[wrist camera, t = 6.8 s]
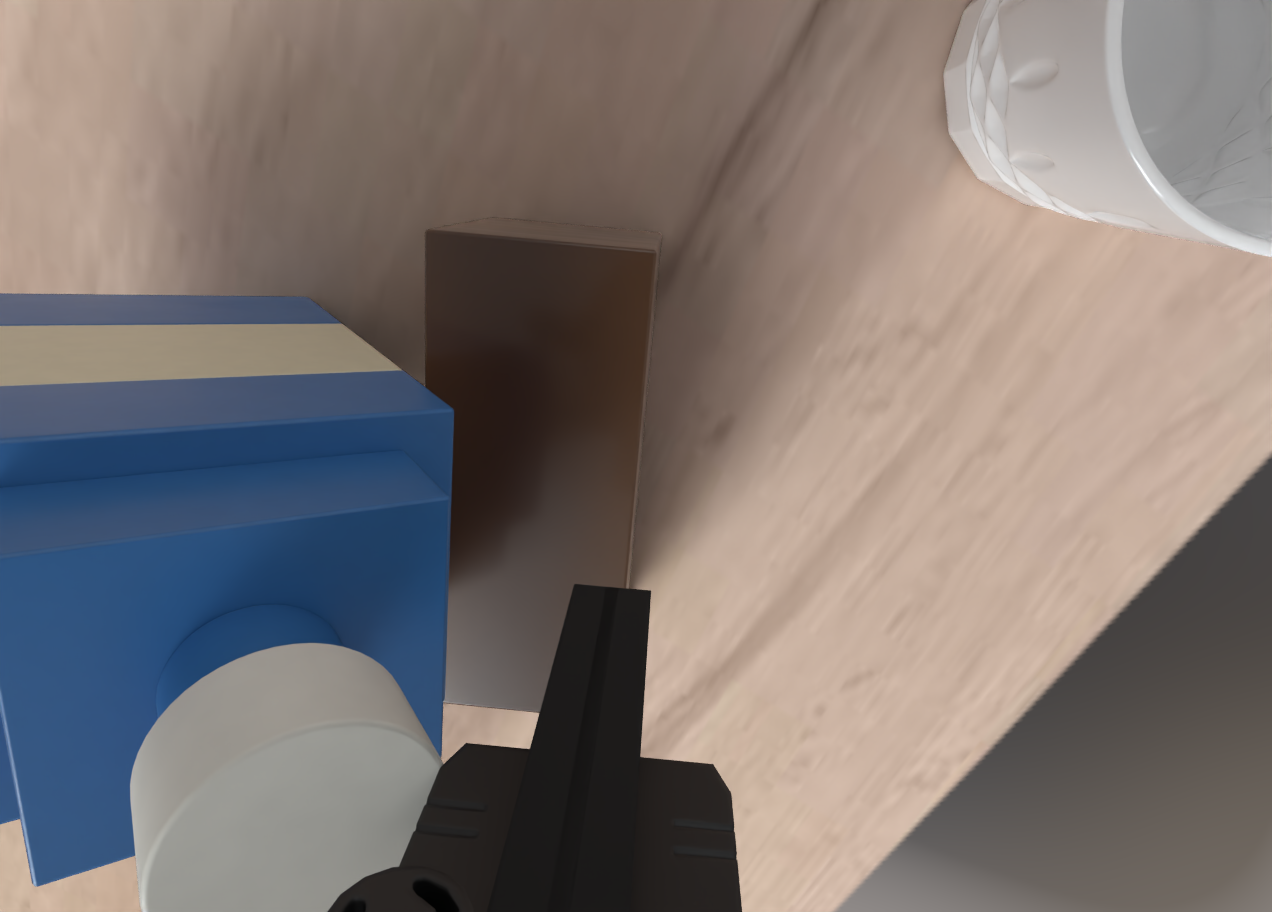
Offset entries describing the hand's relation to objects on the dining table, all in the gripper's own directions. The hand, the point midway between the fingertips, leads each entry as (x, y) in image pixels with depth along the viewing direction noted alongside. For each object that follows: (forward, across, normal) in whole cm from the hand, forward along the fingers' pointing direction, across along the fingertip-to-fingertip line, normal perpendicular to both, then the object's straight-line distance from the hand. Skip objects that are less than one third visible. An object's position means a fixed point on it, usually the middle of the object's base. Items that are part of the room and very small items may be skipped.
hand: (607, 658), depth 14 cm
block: (+12, -2, +1) cm, 12 cm away
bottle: (+12, -9, 0) cm, 15 cm away
